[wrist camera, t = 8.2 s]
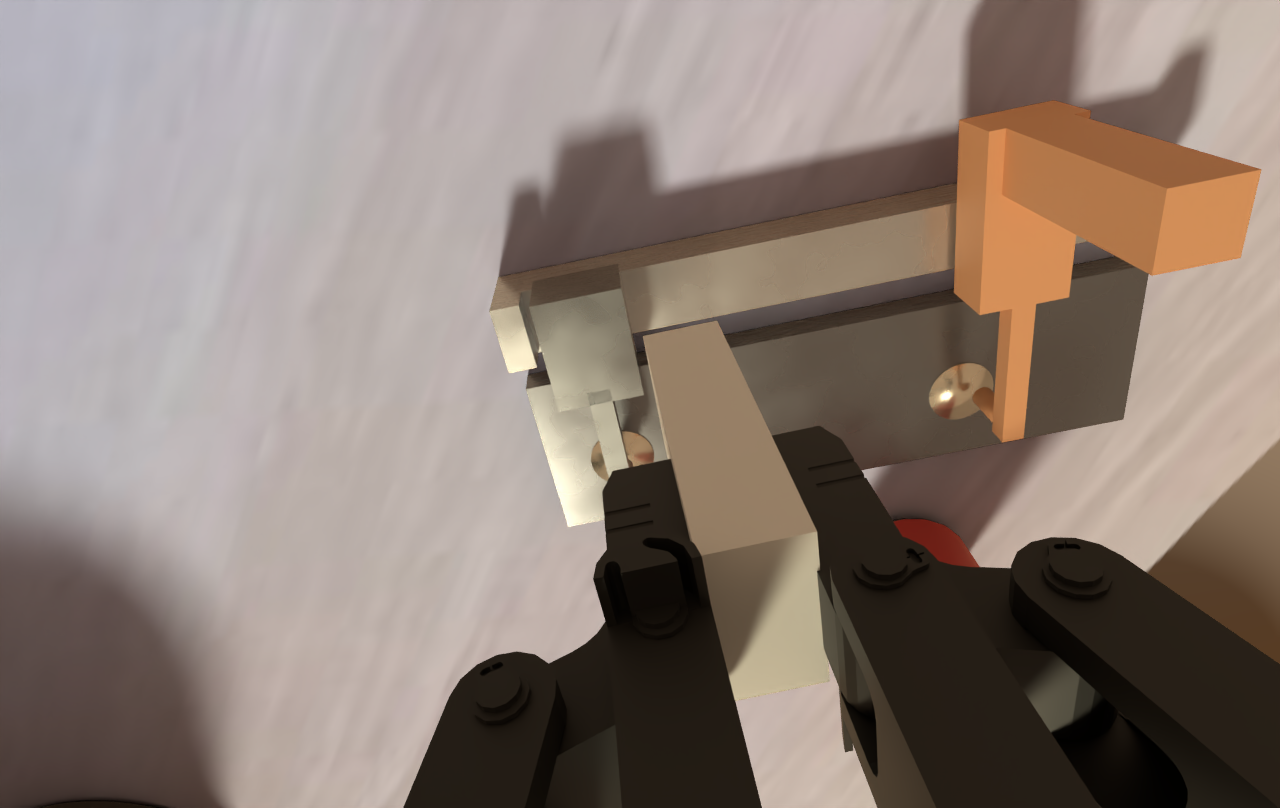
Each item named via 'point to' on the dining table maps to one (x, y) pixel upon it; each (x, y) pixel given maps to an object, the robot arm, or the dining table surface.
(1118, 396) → the hole plate
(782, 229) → the beam
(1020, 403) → the block
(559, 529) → the dining table surface
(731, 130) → the dining table surface
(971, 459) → the dining table surface
